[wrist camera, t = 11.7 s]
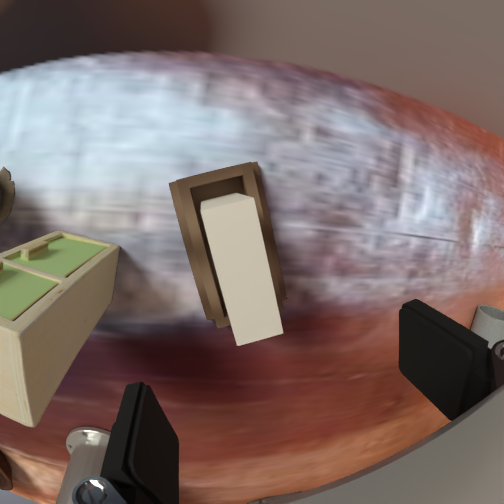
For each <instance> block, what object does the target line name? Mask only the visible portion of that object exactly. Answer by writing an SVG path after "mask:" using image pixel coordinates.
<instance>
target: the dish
mask: <svg viewBox="0 0 504 504" xmlns="http://www.w3.org/2000/svg"><path fill="white" fill-rule="evenodd" d="M0 489H2V490H11V489H13V484H12V474H11V468H10V466H9V464H8V462H7V460H6V459H5V458H4V456H3V455H2V454H1V453H0Z"/></svg>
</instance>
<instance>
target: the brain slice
mask: <svg viewBox="0 0 504 504" xmlns="http://www.w3.org/2000/svg"><path fill="white" fill-rule="evenodd" d="M298 493H301V492H295V493H290V494H285V495H279V496H271V497H268V498H264V499H262V500H259V499H258V500H255V501H251V502H249V503H247V504H261V503H265V502H269V501H273V500H277V499H281V498H284V497H288V496H291V495H295V494H298Z"/></svg>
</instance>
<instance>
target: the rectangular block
mask: <svg viewBox="0 0 504 504" xmlns="http://www.w3.org/2000/svg"><path fill="white" fill-rule="evenodd" d="M201 215H202V219H203V223H204V227H205V231H206V235H207V238H208V242H209V246H210V250H211V254H212V258H213V261H214V265H215V269H216V272H217V276H218V280H219V284H220V287H221V291H222V294H223V298H224V302H225V305H226V309H227V312H228V316H229V319H230V323H231V326H232V330H233V333H234V336H235V340H236V343H237V346H240V345H244V344H247V343H251V342H255V341H258V340H262V339H265V338H269V337H272V336H276V335H279V334H283V329H282V324H281V319H280V315H279V310H278V305H277V301H276V296H275V291H274V287H273V282H272V277H271V273H270V268H269V264H268V259H267V255H266V250H265V245H264V241H263V236H262V232H261V227H260V223H259V218H258V214H257V209H256V205H255V201H254V198H253V197H249V196H246V195H242V194H239V193H232V194H228V195H224V196H220V197H216V198H212V199H208V200H204V201H201Z"/></svg>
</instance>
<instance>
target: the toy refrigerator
mask: <svg viewBox="0 0 504 504" xmlns="http://www.w3.org/2000/svg"><path fill="white" fill-rule="evenodd" d="M119 250H120V246H118V245H115V244H112V243H108V242H103V241H99V240H95V239H91V238H88V237H83V236H79V235H76V234H72V233H68V232H64V231H55V232H52V233H50V234H47V235H45V236H42V237H40V238H37V239H35V240H32V241H30V242H27V243H25V244H22V245H20V246H17V247H15V248H12V249H10V250H8V251H5V252H3V253H0V414H2V415H4V416H6V417H8V418H10V419H13V420H15V421H17V422H19V423H21V424H23V425H26V426H29V427H35V426H37V424H38V422H39V421H40V419H41V417H42V415H43V413H44V412H45V410H46V408H47V406H48V404H49V402H50V401H51V399H52V397H53V395H54V393H55V392H56V390H57V388H58V386H59V385H60V383H61V381H62V379H63V378H64V376H65V374H66V372H67V371H68V369H69V367H70V366H71V364H72V362H73V361H74V359H75V357H76V356H77V354H78V352H79V351H80V349H81V347H82V346H83V344H84V343H85V341H86V340H87V338H88V337H89V335H90V333H91V332H92V330H93V329H94V327H95V326H96V324H97V323H98V321H99V320H100V318H101V317H102V315H103V313H104V312H105V310H106V309H107V308H108V306H109V305H110V303H111V301H112V297H113V289H114V282H115V276H116V269H117V262H118V256H119Z"/></svg>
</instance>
